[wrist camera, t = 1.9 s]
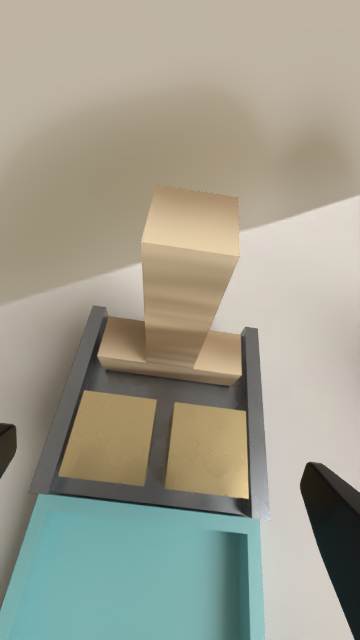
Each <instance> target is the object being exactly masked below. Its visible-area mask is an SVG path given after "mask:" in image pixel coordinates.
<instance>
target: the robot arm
mask: <svg viewBox="0 0 360 640" xmlns="http://www.w3.org/2000/svg"><path fill="white" fill-rule="evenodd" d="M16 448H17V440H16V426H15V425H13V424H6V423H0V478H1V477H2V475H3V473H4V472H5V470H6V468H7V467H8V465H9V463H10V462H11V460H12V458H13V457H14V455H15V452H16ZM300 490H301V494H302V497H303V500H304V503H305V507H306V510H307V513H308V516H309V520H310V523H311V526H312V529H313V533H314V536H315V539H316V542H317V545H318V548H319V551H320V554H321V556H322V559H323V562H324V564H325V567H326V569H327V572H328V574H329V577H330V579H331V582H332V584H333V587H334V589H335V592H336V594H337V597H338V599H339V602H340V604H341V607H342V609H343V612H344V614H345V617H346V619H347V622H348V624H349V627H350V629H351V632H352V634H353V637H354V639H355V640H360V492H358V491H357V490H356V489H354V488H353V487H352V486H351V485H349V484H348V483H347V482H345V481H344V480H343V479H341V478H340V477H339V476H338V475H336V474H335V473H334V472H332V471H331V470H330V469H329V468H327V467H326V466H325V465H323V464H321V463H316V462H308V463H307V464H306V466H305V470H304V473H303V476H302V479H301V482H300Z"/></svg>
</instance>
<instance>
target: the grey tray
mask: <svg viewBox="0 0 360 640" xmlns="http://www.w3.org/2000/svg"><path fill="white" fill-rule="evenodd" d="M108 318H109V316H108V313H107V309H106V307H100V306H93V307H92V310H91V313H90V316H89V319H88V322H87V325H86V328H85V331H84V333H83V336H82V339H81V342H80V345H79V348H78V351H77V354H76V357H75V359H74V362H73V365H72V368H71V371H70V374H69V377H68V380H67V383H66V385H65V388H64V391H63V394H62V397H61V400H60V403H59V406H58V409H57V411H56V414H55V417H54V420H53V423H52V426H51V429H50V432H49V435H48V437H47V440H46V443H45V446H44V449H43V452H42V455H41V458H40V461H39V463H38V466H37V469H36V472H35V475H34V478H33V481H32V484H31V487H30V489H29V492H28V493H36V494H45V495H49V494H53V493H66V494H74V495H83V496H91V497H100V498H108V499H117V500H125V501H134V502H142V503H151V504H159V505H167V506H176V507H184V508H193V509H201V510H210V511H218V512H227V513H235V514H244V515H246V516H247V517H249V518H251V519H257V520H266V521H270V508H269V493H268V478H267V463H266V448H265V432H264V417H263V402H262V387H261V372H260V356H259V341H258V329H257V328H250V327H245V328H244V330H243V331H242V333H241V334H240V335H241V367H242V376H241V377H240V378H239V379H238V380H237V381H236V382H235V383H234V384H233V385H232V386H226V385H218V384H211V383H203V382H196V381H188V380H181V379H173V378H166V377H158V376H151V375H143V374H136V373H128V372H121V371H113V370H105V369H103V367H102V365H101V363H100V361H99V359H98V357H97V355H98V352H99V348H100V345H101V341H102V338H103V335H104V331H105V328H106V325H107V321H108ZM84 390H86V391H94V392H102V393H109V394H117V395H125V396H132V397H140V398H148V399H155V400H157V404H156V416H155V423H154V429H153V436H152V443H151V450H150V456H149V463H148V470H147V477H146V483H145V485H144V486H136V485H128V484H119V483H111V482H103V481H94V480H86V479H78V478H69V477H61V476H58V475H59V471H60V468H61V465H62V461H63V458H64V455H65V452H66V448H67V445H68V442H69V438H70V435H71V432H72V429H73V425H74V422H75V419H76V415H77V412H78V409H79V406H80V402H81V399H82V396H83V392H84ZM175 402H179V403H187V404H194V405H202V406H210V407H217V408H225V409H233V410H240V411H246V430H247V462H248V494H249V499H245V498H237V497H228V496H220V495H212V494H203V493H195V492H187V491H178V490H170V489H165V488H164V486H163V485H162V480H163V472H164V463H165V455H166V447H167V438H168V430H169V421H170V414H171V411H172V408H173V406H174V403H175Z"/></svg>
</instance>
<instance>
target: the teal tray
mask: <svg viewBox="0 0 360 640" xmlns="http://www.w3.org/2000/svg"><path fill="white" fill-rule="evenodd" d="M0 640H265V626H264V605H263V584H262V564H261V543H260V522H259V520H257V519H251V518H249V517H247V516H246V515H244V514H235V513H227V512H218V511H210V510H201V509H193V508H184V507H176V506H167V505H159V504H151V503H142V502H134V501H125V500H117V499H108V498H100V497H91V496H83V495H74V494H66V493H53V494H49V495H45V494H38V497H37V500H36V504H35V507H34V510H33V513H32V516H31V519H30V522H29V525H28V528H27V531H26V534H25V537H24V540H23V543H22V546H21V549H20V552H19V555H18V558H17V561H16V565H15V568H14V571H13V574H12V577H11V580H10V583H9V586H8V589H7V592H6V595H5V598H4V601H3V604H2V607H1V610H0Z"/></svg>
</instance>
